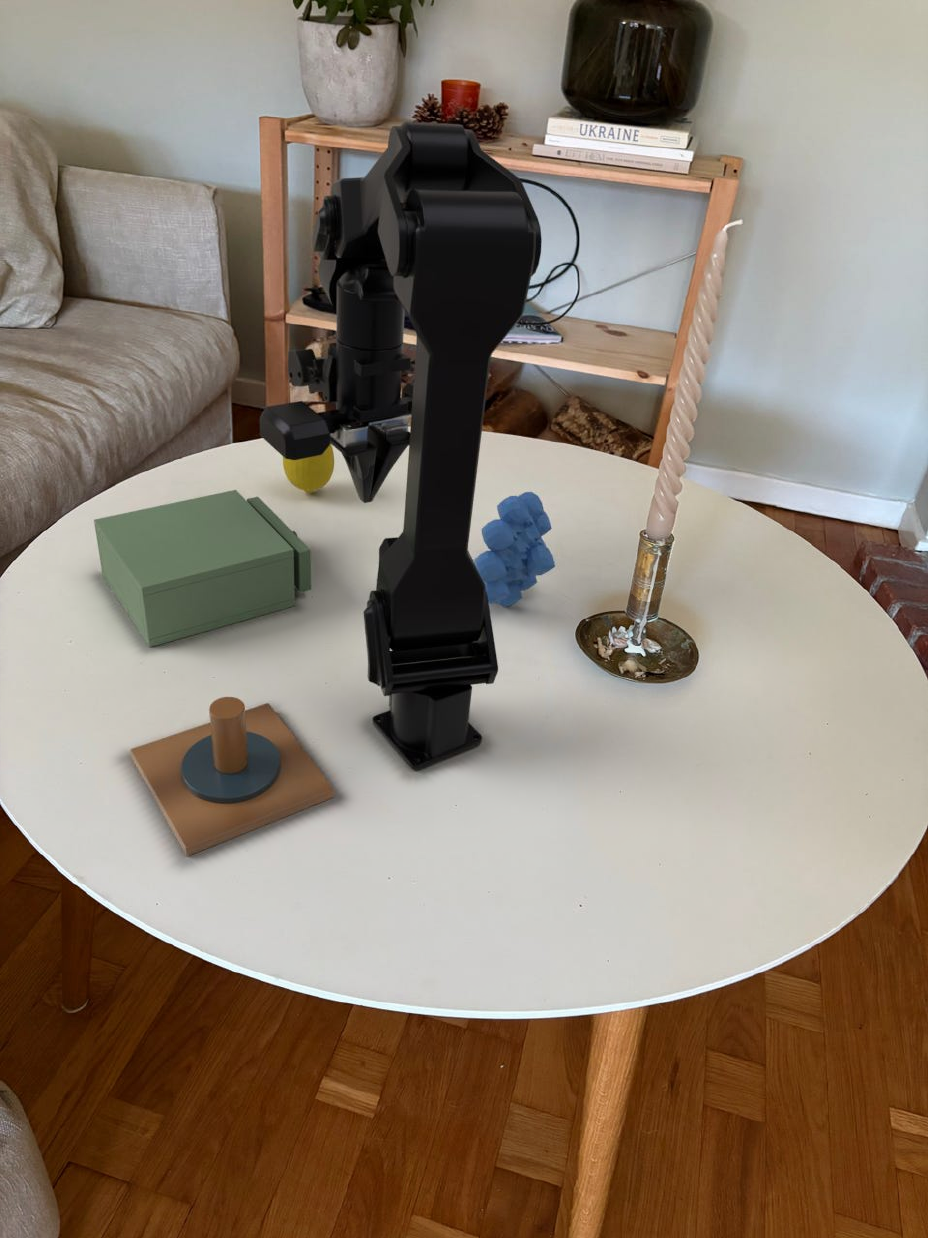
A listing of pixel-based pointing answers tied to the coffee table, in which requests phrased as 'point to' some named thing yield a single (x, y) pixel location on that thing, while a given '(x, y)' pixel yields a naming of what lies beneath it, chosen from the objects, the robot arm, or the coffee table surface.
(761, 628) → the coffee table surface
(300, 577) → the drawer
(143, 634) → the cabinet
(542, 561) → the grapes
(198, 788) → the pot lid
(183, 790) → the wooden peg base
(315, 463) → the lemon
